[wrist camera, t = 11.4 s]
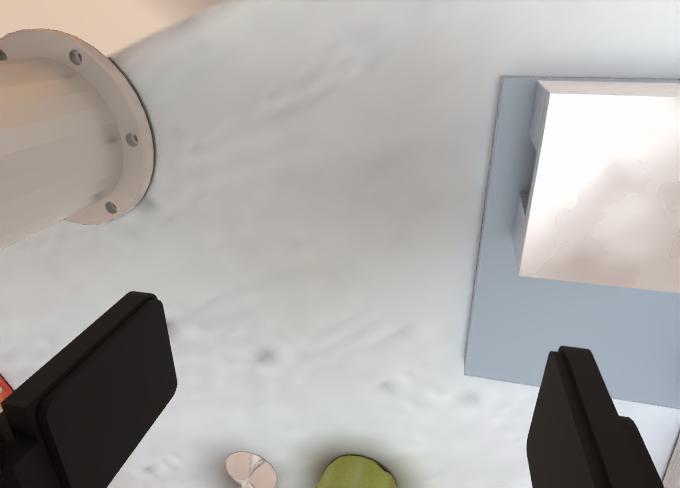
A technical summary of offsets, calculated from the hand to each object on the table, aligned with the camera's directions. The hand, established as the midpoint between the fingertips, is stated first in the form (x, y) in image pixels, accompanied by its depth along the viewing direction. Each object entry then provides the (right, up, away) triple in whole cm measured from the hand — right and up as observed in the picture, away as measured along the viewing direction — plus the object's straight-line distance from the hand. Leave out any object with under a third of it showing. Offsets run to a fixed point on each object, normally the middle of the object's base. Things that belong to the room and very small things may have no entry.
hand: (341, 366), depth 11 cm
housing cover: (+13, +7, +12) cm, 18 cm away
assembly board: (+18, +2, +14) cm, 23 cm away
